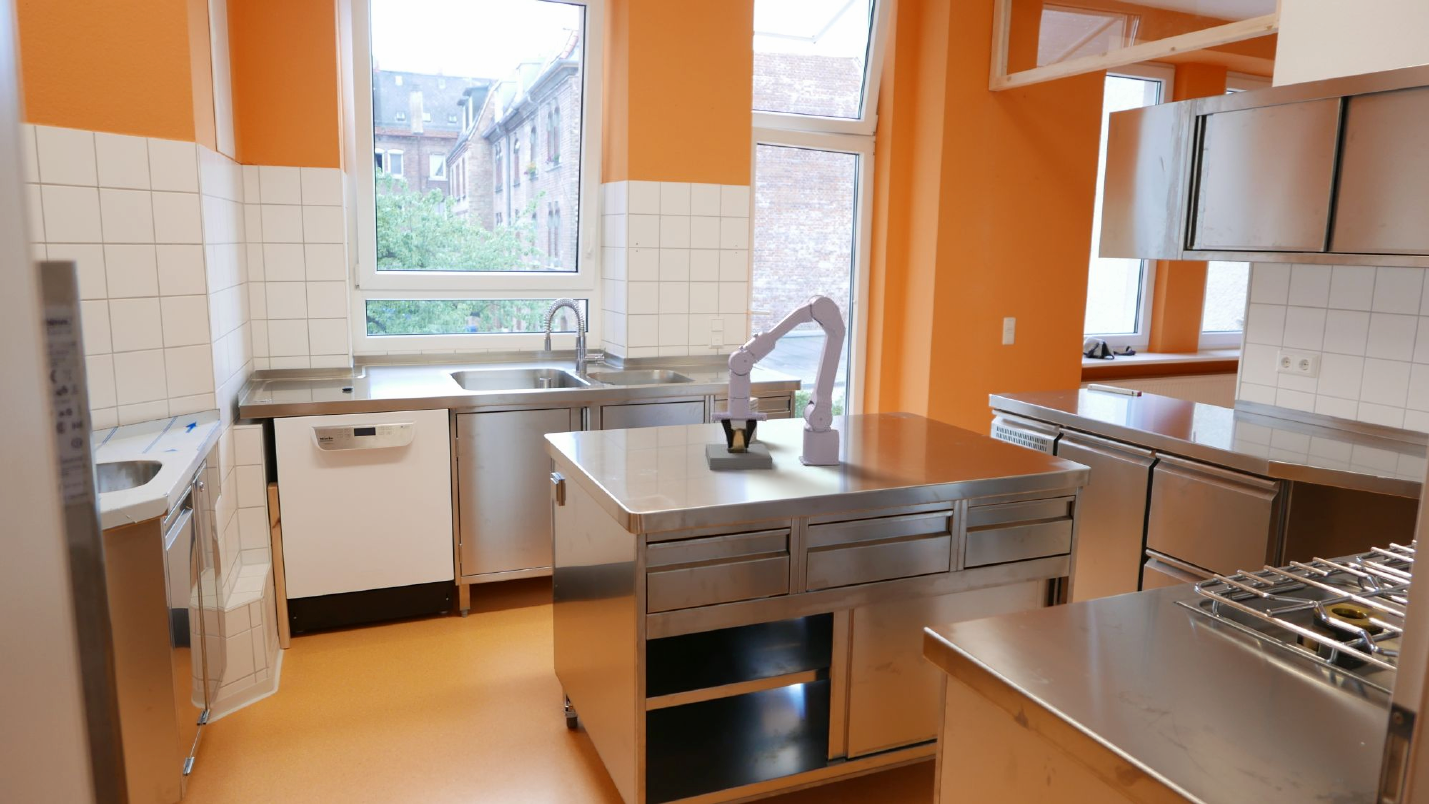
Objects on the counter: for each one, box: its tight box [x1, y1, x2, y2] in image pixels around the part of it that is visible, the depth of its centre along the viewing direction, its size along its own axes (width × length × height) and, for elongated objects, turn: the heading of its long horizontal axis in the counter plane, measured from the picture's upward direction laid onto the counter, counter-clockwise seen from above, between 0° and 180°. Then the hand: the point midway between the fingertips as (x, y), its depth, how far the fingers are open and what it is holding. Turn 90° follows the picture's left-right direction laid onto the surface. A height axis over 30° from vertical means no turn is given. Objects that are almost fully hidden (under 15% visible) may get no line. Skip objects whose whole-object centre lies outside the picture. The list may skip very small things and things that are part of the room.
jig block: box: [704, 443, 773, 471], centre depth 240 cm, size 16×16×3 cm
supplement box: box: [725, 396, 759, 444], centre depth 265 cm, size 7×7×13 cm
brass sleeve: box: [730, 427, 746, 453], centre depth 240 cm, size 4×4×8 cm
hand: (738, 447), depth 240 cm, fingers closed on brass sleeve, 4 cm apart
